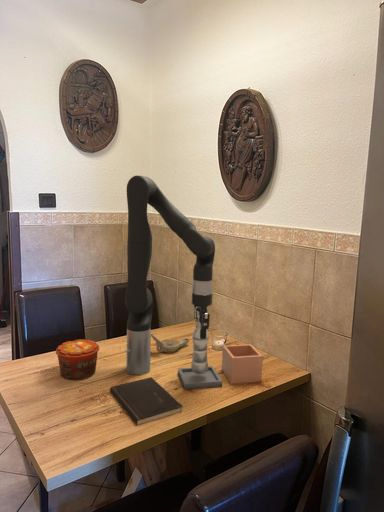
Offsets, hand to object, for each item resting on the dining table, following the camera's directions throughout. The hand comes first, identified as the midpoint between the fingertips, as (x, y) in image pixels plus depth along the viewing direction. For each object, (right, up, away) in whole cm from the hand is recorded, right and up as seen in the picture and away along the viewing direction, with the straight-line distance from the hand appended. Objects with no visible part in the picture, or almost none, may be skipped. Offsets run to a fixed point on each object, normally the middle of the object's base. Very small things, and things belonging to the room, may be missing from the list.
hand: (200, 335), depth 139 cm
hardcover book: (-19, -20, -14) cm, 31 cm away
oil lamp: (-13, -13, +30) cm, 35 cm away
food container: (-47, -16, +5) cm, 50 cm away
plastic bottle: (0, -15, +2) cm, 15 cm away
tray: (0, -17, +2) cm, 17 cm away
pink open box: (+16, -17, +7) cm, 24 cm away
